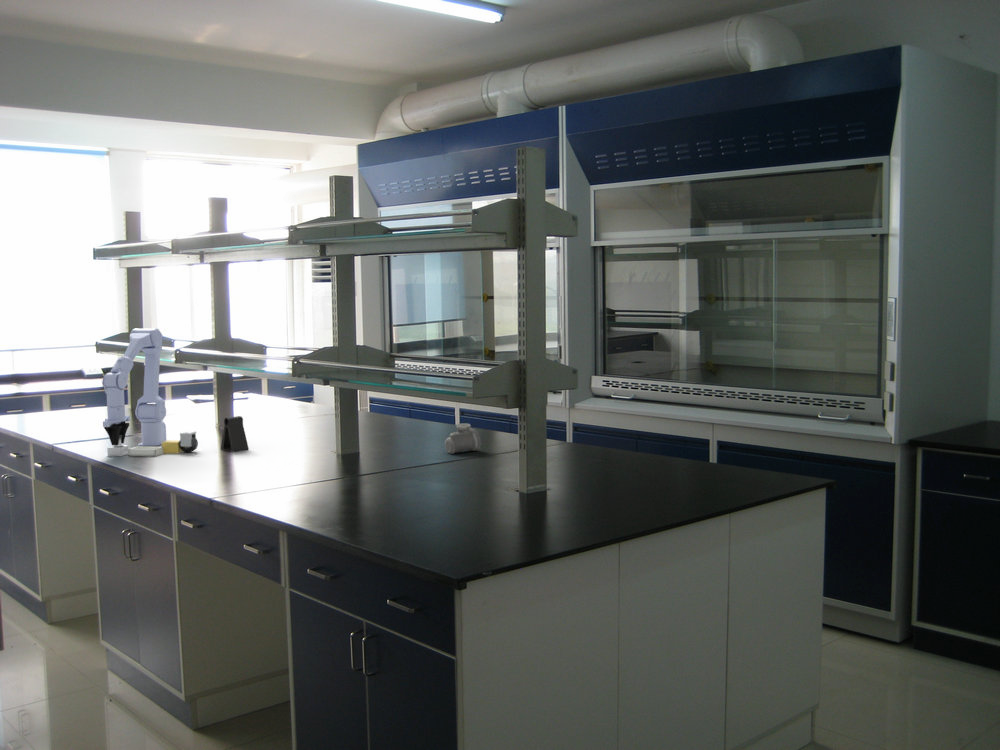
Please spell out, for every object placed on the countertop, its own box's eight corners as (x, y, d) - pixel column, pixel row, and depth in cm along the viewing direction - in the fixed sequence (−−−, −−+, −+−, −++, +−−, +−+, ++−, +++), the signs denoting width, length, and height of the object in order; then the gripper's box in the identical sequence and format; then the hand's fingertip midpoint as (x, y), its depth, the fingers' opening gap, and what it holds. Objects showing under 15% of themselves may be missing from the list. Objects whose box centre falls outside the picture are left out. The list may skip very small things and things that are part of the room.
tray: (137, 452, 323) (137, 446, 323) (163, 453, 322) (163, 446, 322) (128, 455, 317) (128, 449, 317) (155, 456, 316) (155, 449, 316)
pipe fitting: (469, 447, 328) (467, 420, 325) (482, 452, 321) (480, 424, 319) (442, 454, 321) (440, 427, 318) (454, 459, 314) (452, 431, 312)
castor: (183, 450, 327) (182, 431, 326) (199, 451, 326) (198, 431, 325) (178, 453, 322) (177, 433, 322) (193, 453, 322) (193, 433, 321)
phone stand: (220, 449, 330) (219, 416, 329) (234, 447, 334) (233, 415, 333) (234, 452, 324) (233, 419, 323) (248, 449, 328) (247, 417, 327)
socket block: (115, 453, 323) (115, 445, 322) (128, 453, 322) (128, 445, 322) (107, 455, 318) (107, 447, 318) (121, 456, 317) (120, 447, 317)
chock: (167, 451, 327) (167, 440, 327) (183, 451, 327) (182, 440, 326) (162, 453, 323) (161, 442, 323) (178, 453, 323) (177, 442, 322)
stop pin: (116, 453, 322) (115, 434, 321) (124, 453, 321) (124, 434, 321) (111, 455, 319) (110, 435, 318) (120, 455, 318) (119, 435, 318)
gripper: (116, 403, 326) (118, 440, 327) (93, 409, 312) (95, 447, 313) (134, 403, 325) (136, 440, 326) (113, 409, 311) (114, 447, 312)
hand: (117, 444), depth 320 cm, fingers closed on stop pin, 3 cm apart
